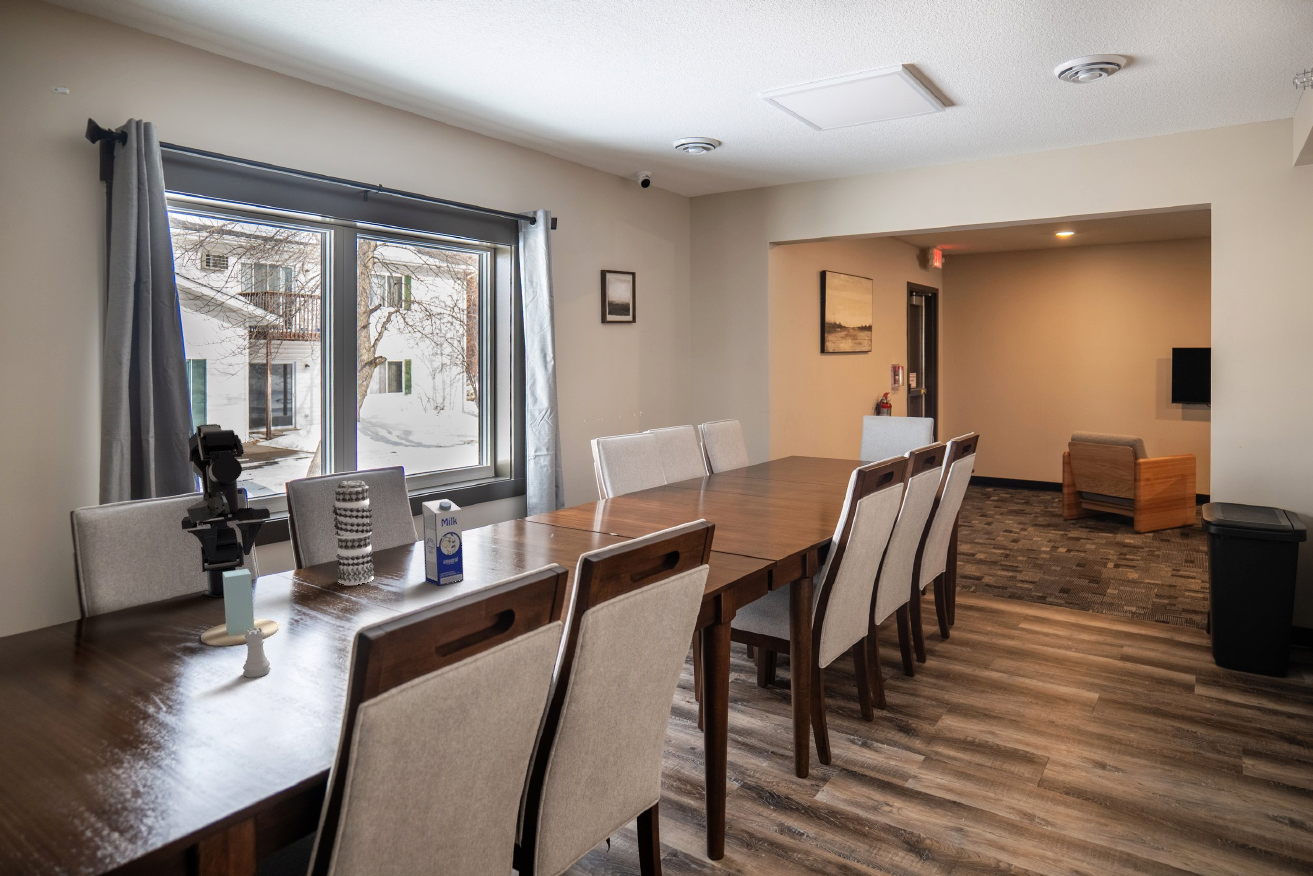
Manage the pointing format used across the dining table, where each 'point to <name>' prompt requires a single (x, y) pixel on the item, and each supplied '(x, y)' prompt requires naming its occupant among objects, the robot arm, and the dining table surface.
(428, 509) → the milk carton
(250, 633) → the rook chess piece
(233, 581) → the teal post
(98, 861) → the dining table surface
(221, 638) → the board
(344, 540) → the patterned cylinder tower
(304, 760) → the dining table surface
